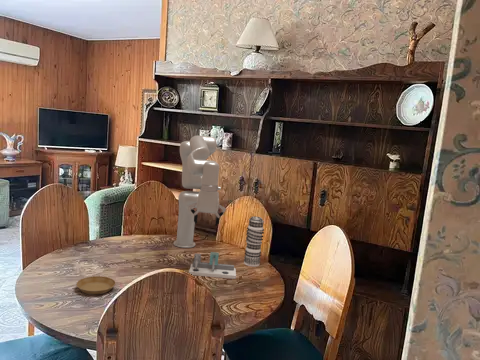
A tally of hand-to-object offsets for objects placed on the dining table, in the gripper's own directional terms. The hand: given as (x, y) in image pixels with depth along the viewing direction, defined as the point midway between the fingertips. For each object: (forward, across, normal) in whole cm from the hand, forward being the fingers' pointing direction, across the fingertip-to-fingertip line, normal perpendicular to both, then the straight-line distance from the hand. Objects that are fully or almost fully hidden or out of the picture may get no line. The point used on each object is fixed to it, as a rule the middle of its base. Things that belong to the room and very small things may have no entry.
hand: (206, 224), depth 182 cm
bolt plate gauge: (+24, -5, -1) cm, 24 cm away
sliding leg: (+21, -5, -1) cm, 22 cm away
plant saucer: (+24, +40, +29) cm, 55 cm away
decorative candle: (+24, -25, -19) cm, 39 cm away
